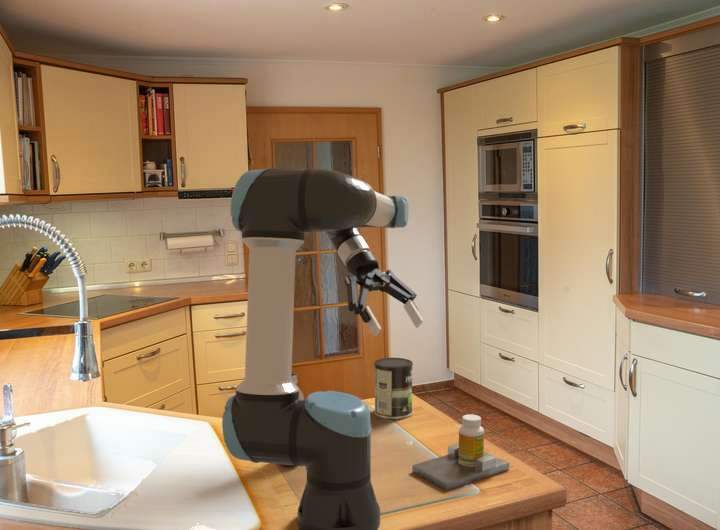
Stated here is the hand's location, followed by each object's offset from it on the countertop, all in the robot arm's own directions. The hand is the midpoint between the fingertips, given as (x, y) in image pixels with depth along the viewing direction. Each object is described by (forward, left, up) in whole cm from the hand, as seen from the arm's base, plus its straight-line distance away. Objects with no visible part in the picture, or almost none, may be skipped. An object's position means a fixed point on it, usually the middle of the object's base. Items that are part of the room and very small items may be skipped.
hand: (399, 328), depth 161 cm
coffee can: (+17, +12, -28) cm, 35 cm away
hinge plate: (-6, -20, -28) cm, 35 cm away
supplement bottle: (-3, -21, -26) cm, 34 cm away
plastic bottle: (-24, +13, -28) cm, 39 cm away
